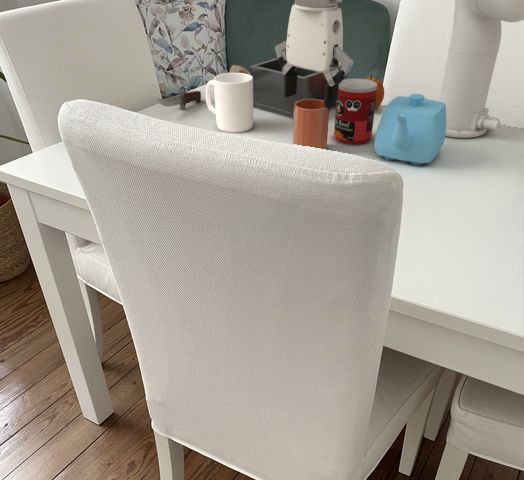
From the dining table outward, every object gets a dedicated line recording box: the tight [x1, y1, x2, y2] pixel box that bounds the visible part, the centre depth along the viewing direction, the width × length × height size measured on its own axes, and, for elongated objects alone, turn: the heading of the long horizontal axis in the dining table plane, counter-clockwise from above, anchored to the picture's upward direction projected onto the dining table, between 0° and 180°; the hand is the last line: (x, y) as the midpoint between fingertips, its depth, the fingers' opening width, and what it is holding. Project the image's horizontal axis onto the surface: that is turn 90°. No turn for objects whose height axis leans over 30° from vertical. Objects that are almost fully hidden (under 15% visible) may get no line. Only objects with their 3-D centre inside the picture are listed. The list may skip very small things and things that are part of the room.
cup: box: [205, 72, 255, 133], centre depth 125 cm, size 8×12×10 cm
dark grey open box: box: [249, 57, 342, 119], centre depth 135 cm, size 16×14×9 cm
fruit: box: [364, 73, 385, 110], centre depth 133 cm, size 7×7×8 cm
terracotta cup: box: [292, 99, 330, 150], centre depth 113 cm, size 7×7×9 cm
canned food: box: [333, 78, 377, 146], centre depth 117 cm, size 8×8×11 cm
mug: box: [228, 64, 250, 75], centre depth 143 cm, size 8×10×10 cm
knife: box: [156, 87, 202, 110], centre depth 134 cm, size 17×1×5 cm, turn 152°
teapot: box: [373, 93, 447, 166], centre depth 109 cm, size 12×18×12 cm
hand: (309, 100), depth 110 cm, fingers open, 9 cm apart
